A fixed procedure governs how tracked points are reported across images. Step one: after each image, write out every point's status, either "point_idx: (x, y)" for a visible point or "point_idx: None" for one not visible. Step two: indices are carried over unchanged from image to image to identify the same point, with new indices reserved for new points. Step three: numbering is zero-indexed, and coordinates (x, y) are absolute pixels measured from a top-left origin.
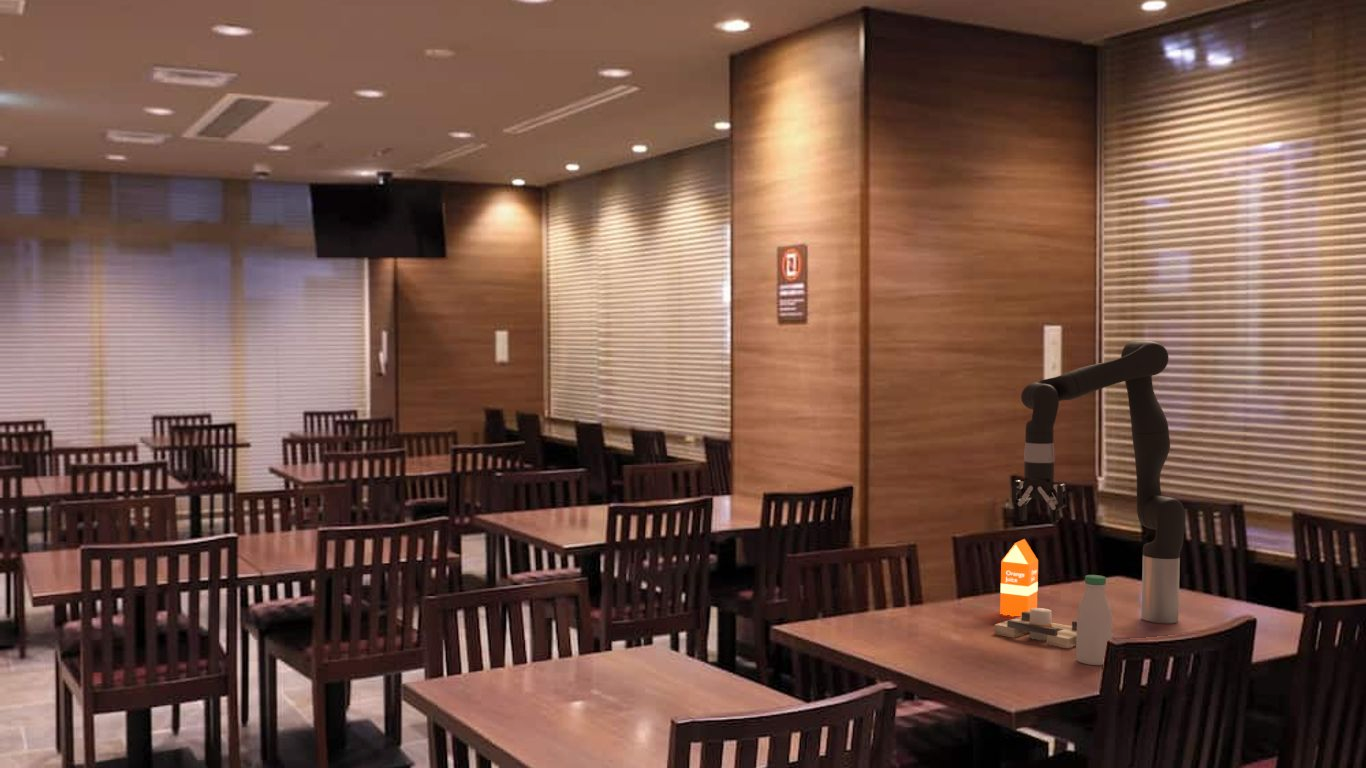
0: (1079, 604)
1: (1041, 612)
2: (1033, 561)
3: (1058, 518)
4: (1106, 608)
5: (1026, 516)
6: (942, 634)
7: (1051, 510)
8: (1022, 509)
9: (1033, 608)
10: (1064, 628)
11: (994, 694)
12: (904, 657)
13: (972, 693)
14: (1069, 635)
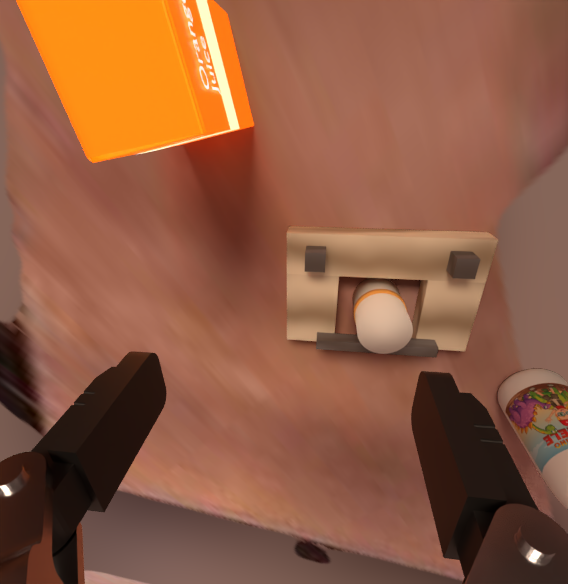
0: (562, 503)
1: (395, 351)
2: (168, 29)
3: (488, 426)
4: None
5: (142, 375)
6: (227, 384)
7: (449, 548)
8: (113, 483)
9: (361, 327)
10: (426, 273)
11: (443, 557)
12: (275, 500)
13: (420, 563)
14: (458, 325)
